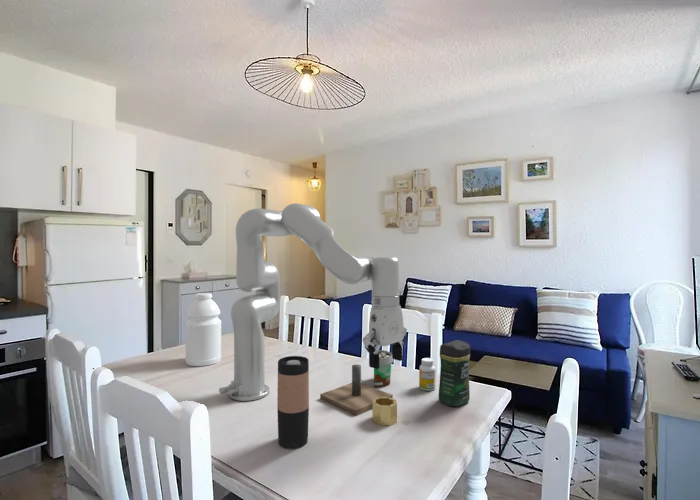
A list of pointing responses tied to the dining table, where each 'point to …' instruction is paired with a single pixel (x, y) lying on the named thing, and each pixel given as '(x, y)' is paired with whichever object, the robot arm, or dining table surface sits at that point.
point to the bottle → (203, 331)
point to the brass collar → (384, 410)
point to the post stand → (354, 394)
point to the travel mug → (293, 401)
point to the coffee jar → (454, 373)
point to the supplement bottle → (427, 375)
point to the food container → (383, 369)
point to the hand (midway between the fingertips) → (386, 363)
